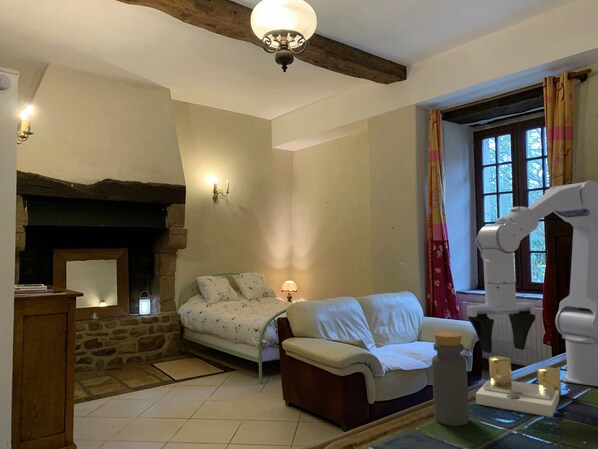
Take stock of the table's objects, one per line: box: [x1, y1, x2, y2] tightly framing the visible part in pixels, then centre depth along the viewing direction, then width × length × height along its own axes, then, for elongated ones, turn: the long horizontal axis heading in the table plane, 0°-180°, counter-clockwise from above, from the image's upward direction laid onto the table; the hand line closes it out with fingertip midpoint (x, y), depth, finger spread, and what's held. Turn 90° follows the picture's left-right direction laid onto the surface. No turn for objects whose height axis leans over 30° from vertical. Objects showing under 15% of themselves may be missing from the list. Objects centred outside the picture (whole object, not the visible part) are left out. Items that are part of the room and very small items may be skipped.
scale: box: [475, 379, 560, 418], centre depth 88 cm, size 10×13×2 cm
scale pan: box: [482, 379, 554, 400], centre depth 89 cm, size 7×12×1 cm, turn 54°
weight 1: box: [488, 355, 513, 387], centre depth 91 cm, size 4×4×5 cm
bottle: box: [431, 331, 470, 427], centre depth 80 cm, size 6×6×15 cm
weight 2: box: [537, 366, 562, 398], centre depth 92 cm, size 4×4×5 cm
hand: (503, 350), depth 91 cm, fingers open, 7 cm apart
